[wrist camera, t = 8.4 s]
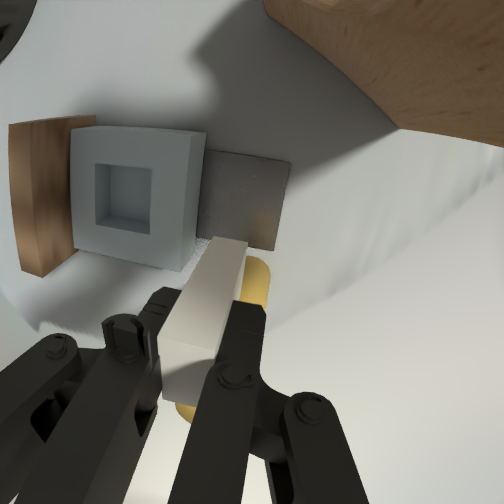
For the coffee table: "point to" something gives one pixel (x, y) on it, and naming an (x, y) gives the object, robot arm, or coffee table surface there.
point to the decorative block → (414, 58)
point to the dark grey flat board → (241, 198)
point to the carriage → (136, 193)
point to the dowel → (251, 292)
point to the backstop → (42, 190)
